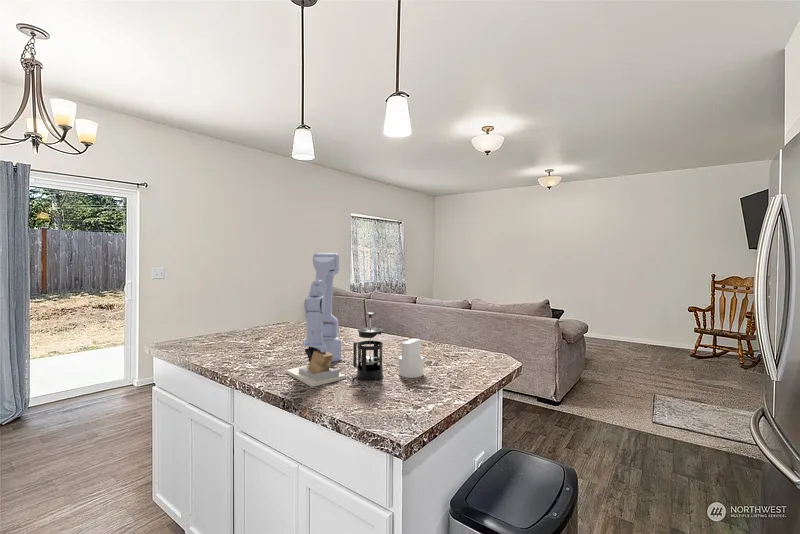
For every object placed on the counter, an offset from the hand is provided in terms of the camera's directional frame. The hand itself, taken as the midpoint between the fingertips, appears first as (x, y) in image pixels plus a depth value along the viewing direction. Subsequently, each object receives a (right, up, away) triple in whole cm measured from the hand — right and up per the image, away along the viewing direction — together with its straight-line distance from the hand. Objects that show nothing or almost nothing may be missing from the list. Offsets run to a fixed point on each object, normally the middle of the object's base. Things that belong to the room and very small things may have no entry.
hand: (314, 368), depth 132 cm
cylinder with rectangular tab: (+35, -3, +4) cm, 35 cm away
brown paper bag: (+2, -1, -2) cm, 3 cm away
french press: (+19, -3, 0) cm, 20 cm away
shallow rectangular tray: (0, -3, 0) cm, 3 cm away
